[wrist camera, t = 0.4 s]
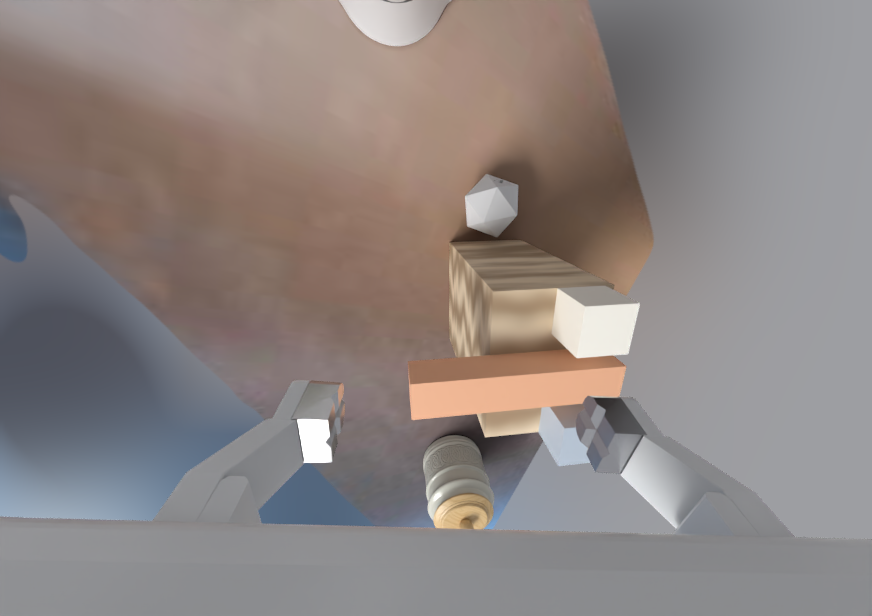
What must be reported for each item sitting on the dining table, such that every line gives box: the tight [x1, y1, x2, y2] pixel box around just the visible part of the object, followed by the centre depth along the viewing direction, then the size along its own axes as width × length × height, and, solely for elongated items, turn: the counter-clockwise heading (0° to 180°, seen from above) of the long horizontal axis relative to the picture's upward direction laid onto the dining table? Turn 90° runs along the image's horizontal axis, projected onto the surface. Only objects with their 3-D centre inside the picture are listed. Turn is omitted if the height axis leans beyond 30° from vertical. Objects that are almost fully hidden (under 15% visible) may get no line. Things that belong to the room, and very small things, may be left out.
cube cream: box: [551, 286, 640, 358], centre depth 31 cm, size 5×5×5 cm
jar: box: [423, 435, 494, 529], centre depth 65 cm, size 13×13×18 cm
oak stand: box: [449, 240, 614, 437], centre depth 47 cm, size 18×12×26 cm
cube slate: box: [538, 404, 590, 466], centre depth 36 cm, size 5×5×5 cm
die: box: [465, 174, 518, 237], centre depth 50 cm, size 8×9×10 cm
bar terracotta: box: [408, 349, 626, 420], centre depth 33 cm, size 4×21×4 cm, turn 91°
